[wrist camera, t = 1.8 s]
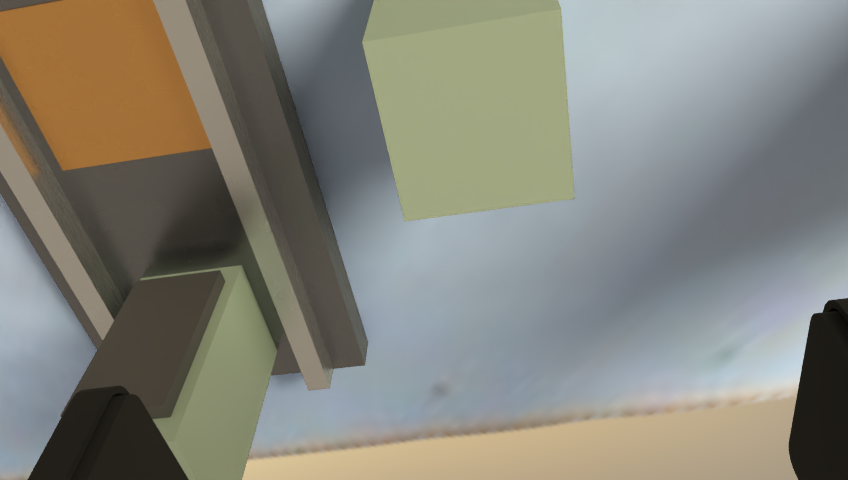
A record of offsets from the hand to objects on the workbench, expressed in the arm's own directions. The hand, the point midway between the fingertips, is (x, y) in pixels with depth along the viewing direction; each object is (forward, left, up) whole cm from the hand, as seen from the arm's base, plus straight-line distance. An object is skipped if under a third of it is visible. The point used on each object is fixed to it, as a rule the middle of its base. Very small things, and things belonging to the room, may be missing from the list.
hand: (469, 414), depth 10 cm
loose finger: (0, 0, -18) cm, 18 cm away
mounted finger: (+13, +11, -16) cm, 23 cm away
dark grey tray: (+13, +5, -18) cm, 23 cm away
